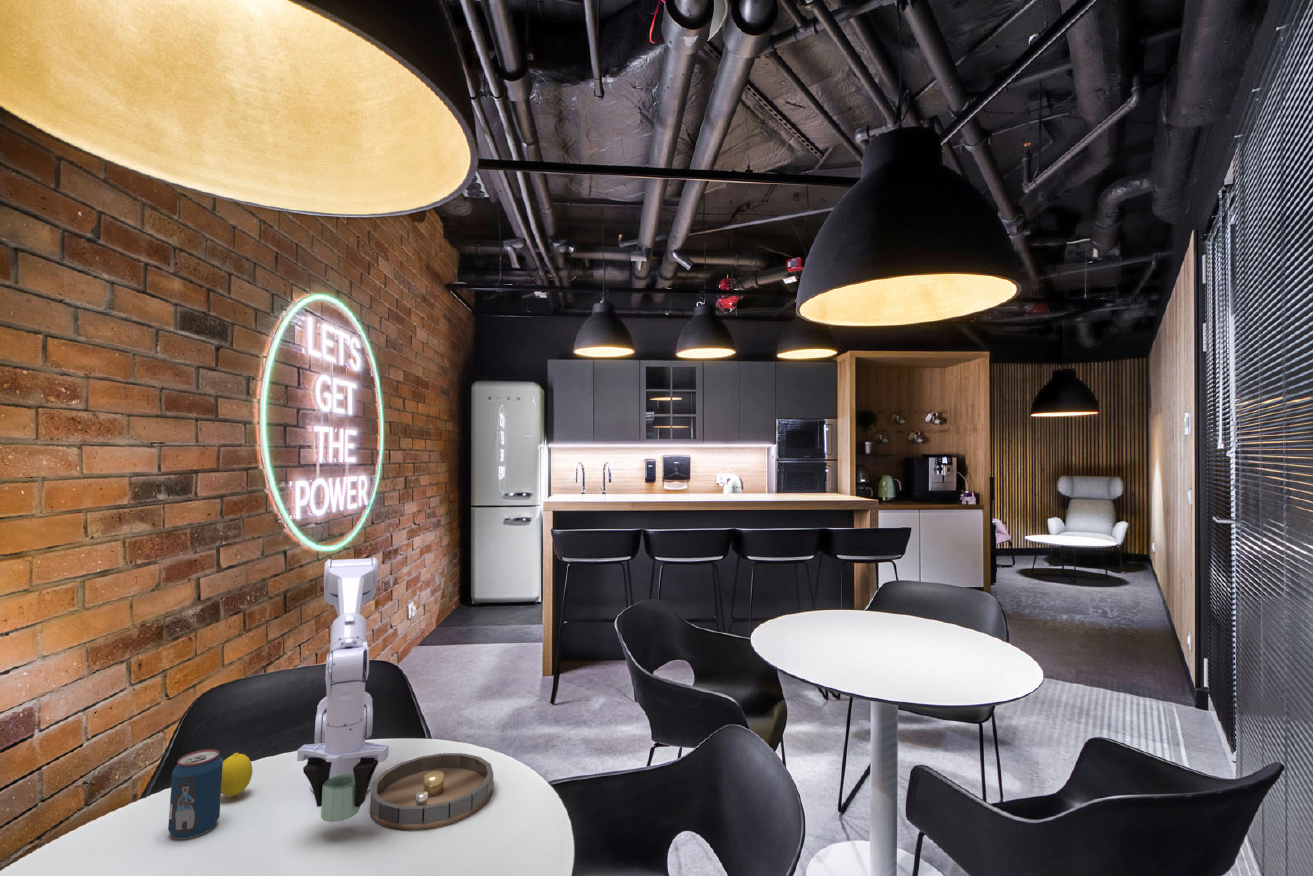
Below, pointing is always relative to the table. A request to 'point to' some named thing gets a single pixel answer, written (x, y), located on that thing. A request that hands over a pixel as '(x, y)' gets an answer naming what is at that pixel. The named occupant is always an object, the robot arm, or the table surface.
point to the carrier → (431, 791)
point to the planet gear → (338, 798)
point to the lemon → (235, 774)
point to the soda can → (195, 794)
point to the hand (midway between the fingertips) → (341, 803)
